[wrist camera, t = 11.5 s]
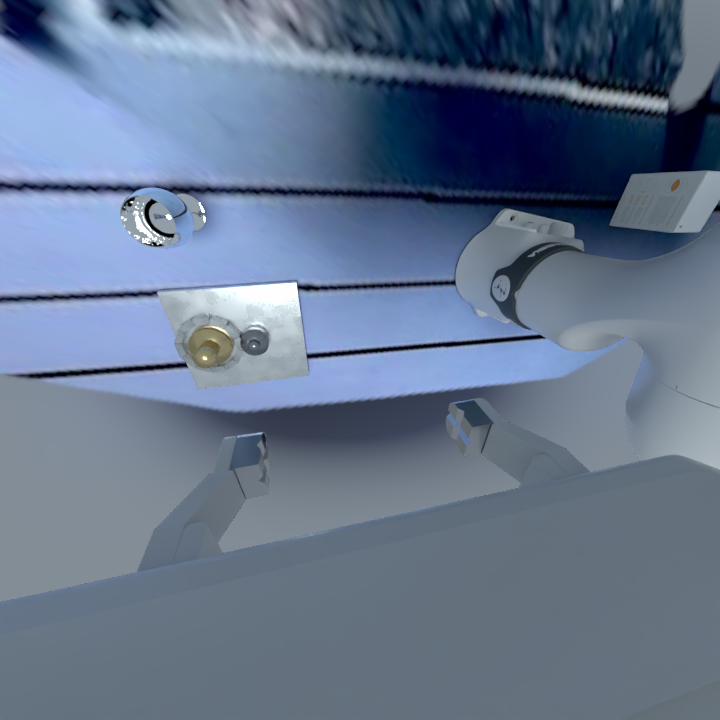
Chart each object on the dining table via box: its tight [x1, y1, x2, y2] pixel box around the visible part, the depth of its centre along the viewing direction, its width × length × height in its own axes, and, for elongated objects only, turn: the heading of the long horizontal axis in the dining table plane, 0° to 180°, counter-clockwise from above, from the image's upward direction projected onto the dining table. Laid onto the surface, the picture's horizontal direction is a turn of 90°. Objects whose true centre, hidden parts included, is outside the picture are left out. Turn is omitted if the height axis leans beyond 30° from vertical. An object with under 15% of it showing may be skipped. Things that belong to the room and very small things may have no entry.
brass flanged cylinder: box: [188, 325, 234, 368], centre depth 43 cm, size 6×6×6 cm
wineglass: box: [120, 188, 206, 249], centre depth 32 cm, size 6×6×12 cm
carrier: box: [157, 281, 309, 389], centre depth 46 cm, size 20×18×4 cm
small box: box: [609, 171, 720, 233], centre depth 45 cm, size 8×6×10 cm
